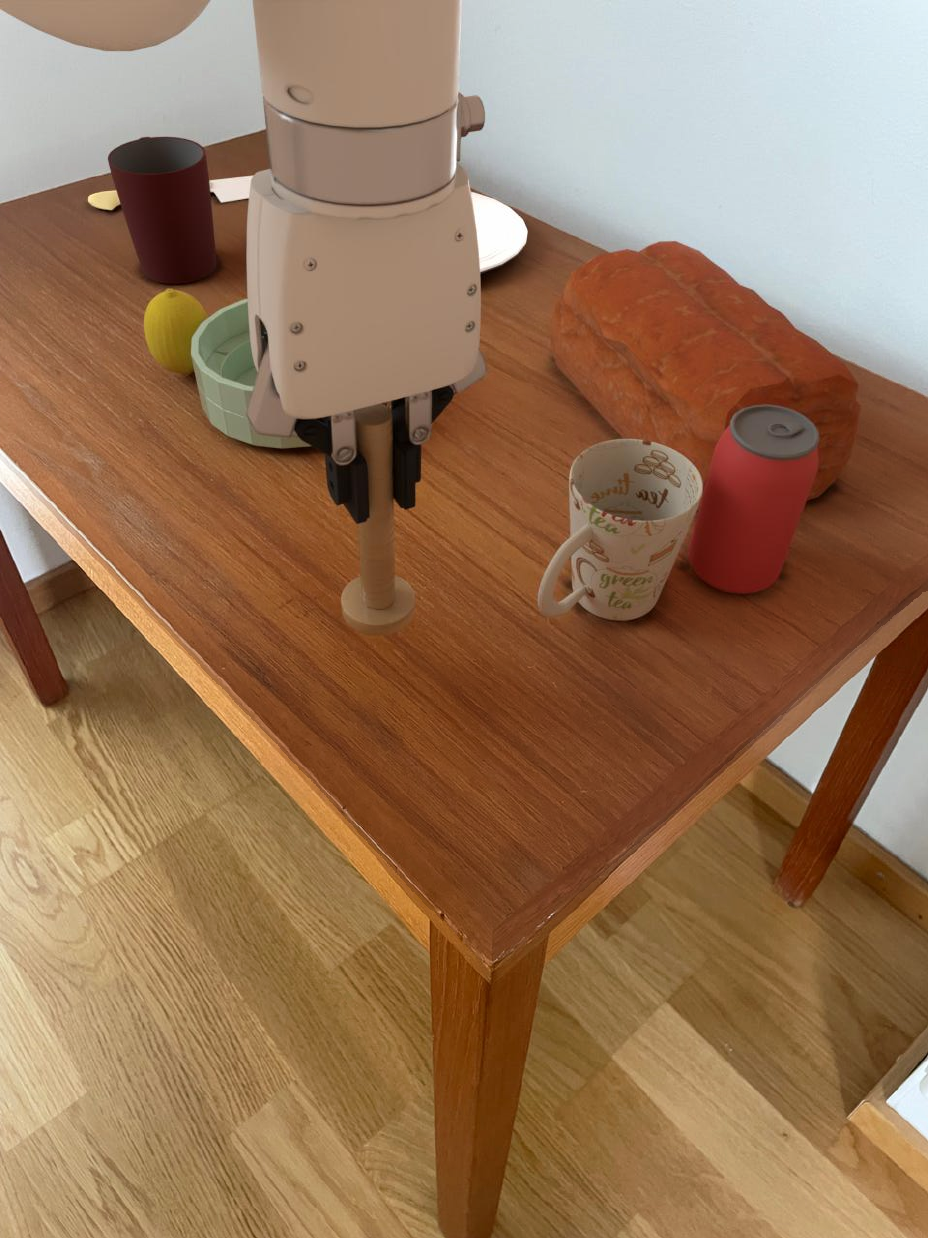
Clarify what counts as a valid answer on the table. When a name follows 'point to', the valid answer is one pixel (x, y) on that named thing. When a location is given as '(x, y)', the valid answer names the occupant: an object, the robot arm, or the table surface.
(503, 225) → the plate
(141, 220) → the mug
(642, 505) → the mug
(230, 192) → the knife
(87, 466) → the table surface
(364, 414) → the wooden peg with base
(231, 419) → the bowl
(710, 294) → the bread
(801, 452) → the beer can
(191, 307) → the lemon
